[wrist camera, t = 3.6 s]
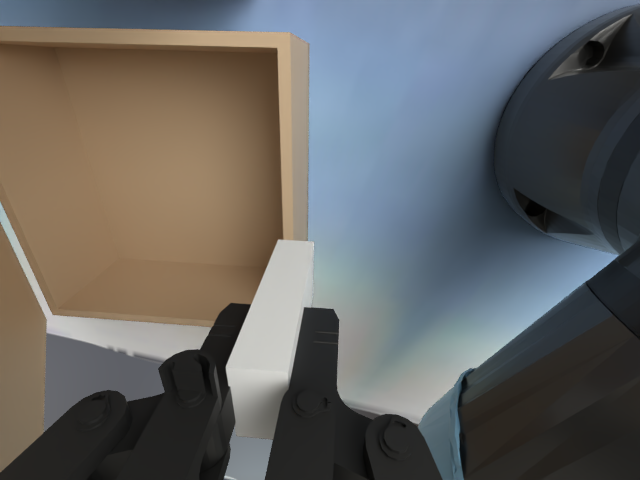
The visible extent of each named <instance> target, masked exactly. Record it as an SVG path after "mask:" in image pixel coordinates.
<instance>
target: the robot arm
mask: <svg viewBox="0 0 640 480" xmlns="http://www.w3.org/2000/svg"><path fill="white" fill-rule="evenodd" d="M494 169H495V175H496V179H497V183H498V186H499V188H500V191H501V193H502V195H503V196H504V198H505V200H506V201H507V203H508V204H509V205H510V206H511V207H512V209H513V210H514V211H515V212H516V213H518V214H519V215H520V216H521V217H522V218H523V219H525V220H526V221H527V222H528V223H529V224H530V225H532V226H533V227H534V228H536V229H538V230H539V231H541V232H543V233H545V234H547V235H549V236H551V237H553V238H556V239H559V240H562V241H565V242H569V243H573V244H577V245H581V246H584V247H588V248H592V249H596V250H600V251H604V252H607V253H611V254H615V255H619V256H618V257H617V258H615V260H614V261H612V262H611V263H610V264H609V265H607V266H606V267H605V268H603V269H602V270H601V271H600V272H598V273H597V274H596V275H595V276H593V277H592V278H591V279H590V280H588V281H586V282H584V283H583V284H582V285H581V286H579V287H578V288H577V289H576V290H574V291H573V292H572V293H571V294H569V295H568V296H567V297H566V298H564V299H563V300H562V301H561V302H559V303H558V304H557V305H556V306H554V307H553V308H552V309H551V310H549V311H548V312H547V313H546V314H544V315H543V316H542V317H541V318H539V319H538V320H537V321H535V322H534V323H533V324H532V325H530V326H529V327H528V328H527V329H525V330H524V331H523V332H522V333H520V334H519V335H518V336H517V337H515V338H514V339H513V340H512V341H510V342H509V343H508V344H507V345H505V346H504V347H503V348H502V349H500V350H499V351H498V352H497V353H495V354H494V355H493V356H492V357H490V358H489V359H488V360H486V361H485V362H484V363H483V364H481V365H480V366H479V367H478V368H474V369H471V368H470V369H468V370H467V371H465V372H463V373H462V374H461V375H460V377H459V379H458V381H457V382H456V384H455V385H454V387H453V388H452V389H451V390H449V391H448V392H447V393H446V394H445V395H444V396H443V397H442V398H441V399H439V400H438V401H437V402H436V403H435V404H434V405H433V406H432V407H431V408H430V409H429V410H428V411H427V412H426V414H425V415H424V416H423V418H422V420H421V422H420V423H419V426H418V427H417V426H415V425H414V424H413V423H412V422H411V421H409V420H408V419H406V418H404V417H401V416H399V415H393V414H385V415H382V416H379V417H376V418H375V419H374V420H372V419H369V418H367V417H365V416H362V415H360V414H358V413H356V412H354V411H353V410H351V409H350V408H349V407H347V406H346V405H345V404H344V402H343V401H342V400H341V398H340V396H339V394H338V391H337V359H338V334H339V319H338V317H337V315H336V313H335V311H334V309H324V308H311V305H312V299H313V276H314V242H312V241H295V240H279V239H278V241H277V244H276V246H275V249H274V251H273V253H272V256H271V258H270V261H269V263H268V266H267V268H266V270H265V273H264V275H263V278H262V280H261V283H260V285H259V287H258V290H257V292H256V295H255V297H254V300H253V302H252V304H240V303H230V304H229V305H228V306H227V307H225V308H224V309H223V310H222V311H221V312H220V313H219V315H218V317H217V319H216V320H215V322H214V326H212V328H211V330H210V332H209V335H208V336H207V337H206V339H205V341H204V343H203V345H202V347H201V349H200V350H198V349H196V350H186V351H183V352H180V353H177V354H175V355H173V356H172V357H170V358H169V359H167V360H166V361H165V362H164V363H163V364H162V365H161V366H160V367H159V369H158V370H159V373H160V377H161V380H162V384H163V387H164V390H165V392H164V393H162V394H160V395H156V396H153V397H148V398H143V399H138V400H133V401H128V402H127V401H126V399H125V396H124V395H122V394H121V393H119V392H118V391H111V390H107V391H101V392H97V393H94V394H92V395H90V396H88V397H85V398H83V399H82V400H81V401H79V402H78V403H77V404H75V405H74V406H73V407H71V408H70V409H69V410H68V411H67V412H66V413H65V414H64V415H63V416H61V417H60V418H59V419H58V420H57V421H56V422H55V423H54V424H53V425H52V426H51V427H49V428H48V429H47V431H45V432H44V433H43V434H42V435H41V436H40V437H39V438H37V439H36V440H35V441H34V442H33V443H32V444H31V445H30V446H29V447H28V448H26V449H25V450H24V451H23V452H22V453H21V454H20V455H19V456H18V457H17V458H16V459H14V460H13V461H12V462H11V463H10V464H9V465H8V466H7V467H6V468H5V469H4V470H2V471H1V472H0V480H223V479H224V476H225V472H226V469H227V466H228V462H229V459H230V450H231V449H230V444H229V442H230V438H231V435H232V432H233V429H234V426H235V430H236V436H240V437H251V438H261V439H272V440H273V443H272V448H271V452H270V457H269V462H268V467H267V472H266V476H265V480H640V4H637V5H633V6H629V7H625V8H622V9H619V10H616V11H613V12H610V13H608V14H606V15H603V16H601V17H599V18H597V19H595V20H593V21H591V22H589V23H587V24H585V25H584V26H582V27H580V28H579V29H577V30H576V31H574V32H572V33H571V34H570V35H568V36H567V37H565V38H564V39H563V40H561V41H560V42H559V43H558V44H556V45H555V46H554V47H553V48H552V49H551V50H550V51H548V52H547V53H546V54H545V55H544V56H543V57H542V58H541V59H540V60H539V61H538V62H537V63H536V64H535V66H534V67H533V68H532V69H531V70H530V71H529V73H528V74H527V75H526V76H525V78H524V79H523V80H522V82H521V83H520V85H519V86H518V88H517V89H516V91H515V92H514V94H513V96H512V97H511V99H510V101H509V103H508V105H507V107H506V109H505V111H504V114H503V116H502V119H501V122H500V125H499V128H498V131H497V136H496V141H495V147H494Z"/></svg>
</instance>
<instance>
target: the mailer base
mask: <svg viewBox="0 0 640 480" xmlns="http://www.w3.org/2000/svg"><path fill="white" fill-rule="evenodd" d="M308 144H309V43H307V42H305V41H304V40H302V39H300V38H299V37H297V36H295V35H294V34H292V33H290V32H245V31H201V30H156V29H111V28H66V27H21V26H0V201H1V204H2V206H3V208H4V210H5V212H6V214H7V217H8V219H9V221H10V223H11V225H12V228H13V230H14V232H15V234H16V236H17V238H18V241H19V243H20V245H21V247H22V249H23V251H24V254H25V256H26V258H27V260H28V262H29V264H30V267H31V269H32V271H33V273H34V275H35V277H36V280H37V282H38V284H39V286H40V288H41V290H42V293H43V295H44V297H45V299H46V301H47V304H48V306H49V308H50V310H51V312H52V314H53V315H60V316H74V317H87V318H100V319H113V320H126V321H139V322H153V323H166V324H179V325H192V326H205V327H212V326H214V322H215V320H216V319H217V317H218V315H219V313H220V312H221V311H222V310H223V309H224V308H225V307H227V306H228V305H229V304H230V303H240V304H252V302H253V300H254V297H255V295H256V292H257V290H258V287H259V285H260V283H261V280H262V278H263V275H264V273H265V270H266V268H267V266H268V263H269V261H270V258H271V256H272V253H273V251H274V249H275V246H276V244H277V241H278V239H279V240H295V241H308Z"/></svg>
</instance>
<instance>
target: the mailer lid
mask: <svg viewBox="0 0 640 480" xmlns="http://www.w3.org/2000/svg"><path fill="white" fill-rule="evenodd" d="M46 322H47V319H46V317H45V315H44V313H43V311H42V309H41V307H40V305H39V302H38V300H37V298H36V296H35V294H34V292H33V290H32V288H31V286H30V284H29V281H28V279H27V277H26V275H25V273H24V271H23V269H22V267H21V265H20V263H19V260H18V258H17V256H16V254H15V252H14V250H13V248H12V246H11V244H10V242H9V239H8V237H7V235H6V233H5V231H4V229H3V227H2V225H1V223H0V472H1V471H2V470H4V469H5V468H6V467H7V466H8V465H9V464H10V463H11V462H12V461H13V460H14V459H16V458H17V457H18V456H19V455H20V454H21V453H22V452H23V451H24V450H25V449H26V448H28V447H29V446H30V445H31V444H32V443H33V442H34V441H35V440H36V439H37V438H39V437H40V436H41V435H42V434H43V433H44V432H43V431H44V396H45V395H44V394H45V359H46Z"/></svg>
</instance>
